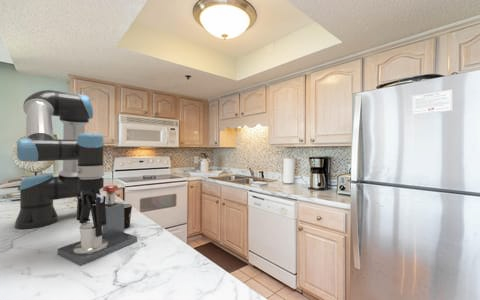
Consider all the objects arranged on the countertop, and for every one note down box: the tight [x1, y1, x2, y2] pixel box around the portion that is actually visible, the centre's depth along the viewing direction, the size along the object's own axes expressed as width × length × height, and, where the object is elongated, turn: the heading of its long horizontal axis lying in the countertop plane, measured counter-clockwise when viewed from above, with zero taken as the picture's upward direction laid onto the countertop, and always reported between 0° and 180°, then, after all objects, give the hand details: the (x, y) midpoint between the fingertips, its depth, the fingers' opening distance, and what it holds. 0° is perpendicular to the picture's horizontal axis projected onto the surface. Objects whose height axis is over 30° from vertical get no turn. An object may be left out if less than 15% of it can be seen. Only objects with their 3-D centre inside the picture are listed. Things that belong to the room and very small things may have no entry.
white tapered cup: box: [79, 222, 103, 249], centre depth 76 cm, size 7×7×7 cm
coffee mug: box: [123, 203, 133, 230], centre depth 102 cm, size 12×9×10 cm
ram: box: [102, 184, 119, 206], centre depth 88 cm, size 5×5×12 cm
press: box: [57, 201, 138, 266], centre depth 81 cm, size 15×20×14 cm
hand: (91, 242), depth 76 cm, fingers closed on white tapered cup, 7 cm apart
